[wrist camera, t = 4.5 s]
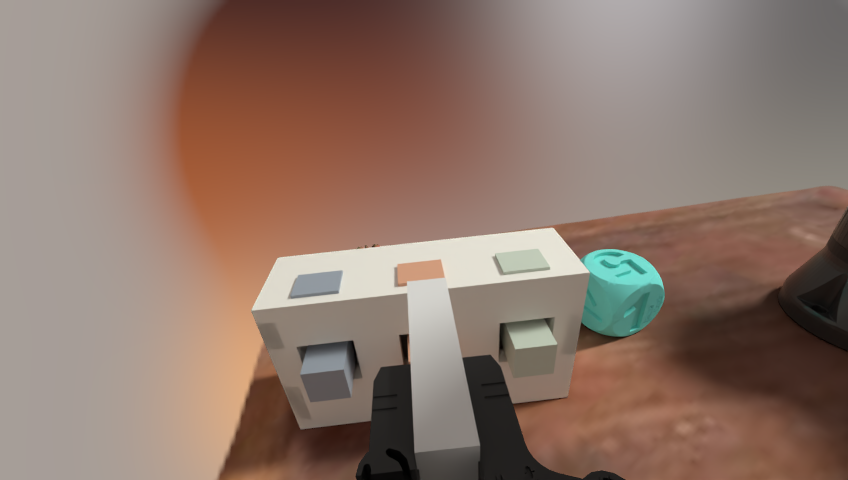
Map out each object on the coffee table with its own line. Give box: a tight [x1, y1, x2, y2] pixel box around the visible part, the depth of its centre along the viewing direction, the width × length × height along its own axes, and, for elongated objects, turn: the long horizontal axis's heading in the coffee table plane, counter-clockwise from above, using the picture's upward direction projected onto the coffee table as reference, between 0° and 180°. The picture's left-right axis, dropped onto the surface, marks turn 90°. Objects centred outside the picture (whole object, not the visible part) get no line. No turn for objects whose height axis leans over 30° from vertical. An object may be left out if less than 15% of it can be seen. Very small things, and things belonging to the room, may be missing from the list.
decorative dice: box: [580, 249, 665, 337], centre depth 46 cm, size 8×8×8 cm
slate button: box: [300, 340, 356, 402], centre depth 33 cm, size 4×5×4 cm
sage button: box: [499, 318, 558, 378], centre depth 34 cm, size 4×5×4 cm
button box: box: [251, 228, 590, 429], centre depth 37 cm, size 28×8×16 cm, turn 94°
